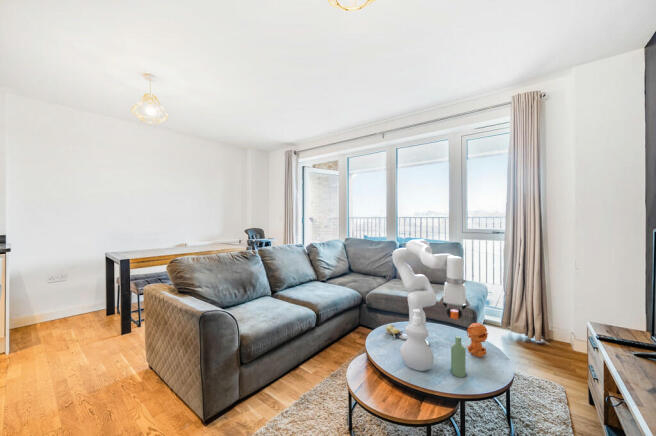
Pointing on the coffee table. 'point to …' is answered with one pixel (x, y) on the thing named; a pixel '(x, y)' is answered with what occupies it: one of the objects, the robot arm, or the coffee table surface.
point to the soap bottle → (416, 346)
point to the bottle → (458, 358)
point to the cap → (454, 314)
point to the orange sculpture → (477, 339)
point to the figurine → (394, 331)
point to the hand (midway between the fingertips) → (454, 316)
